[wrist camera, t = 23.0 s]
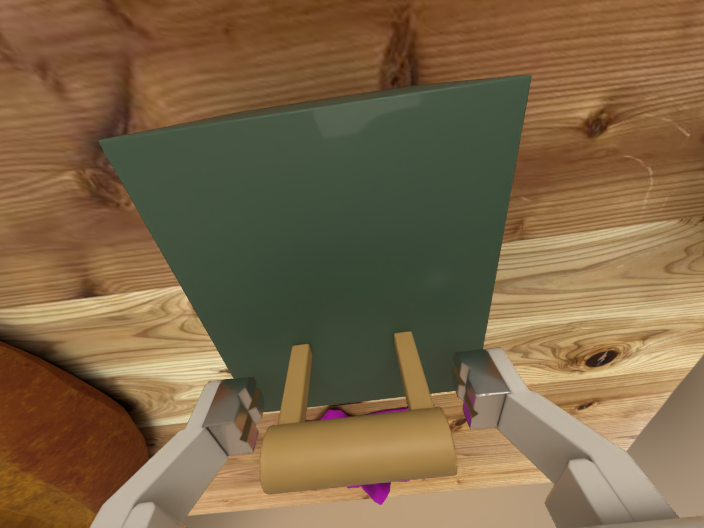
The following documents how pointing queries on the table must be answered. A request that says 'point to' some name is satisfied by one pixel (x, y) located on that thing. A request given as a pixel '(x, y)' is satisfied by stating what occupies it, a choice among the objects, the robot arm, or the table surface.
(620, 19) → the table surface
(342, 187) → the bin lid
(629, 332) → the table surface
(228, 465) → the table surface
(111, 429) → the bread
